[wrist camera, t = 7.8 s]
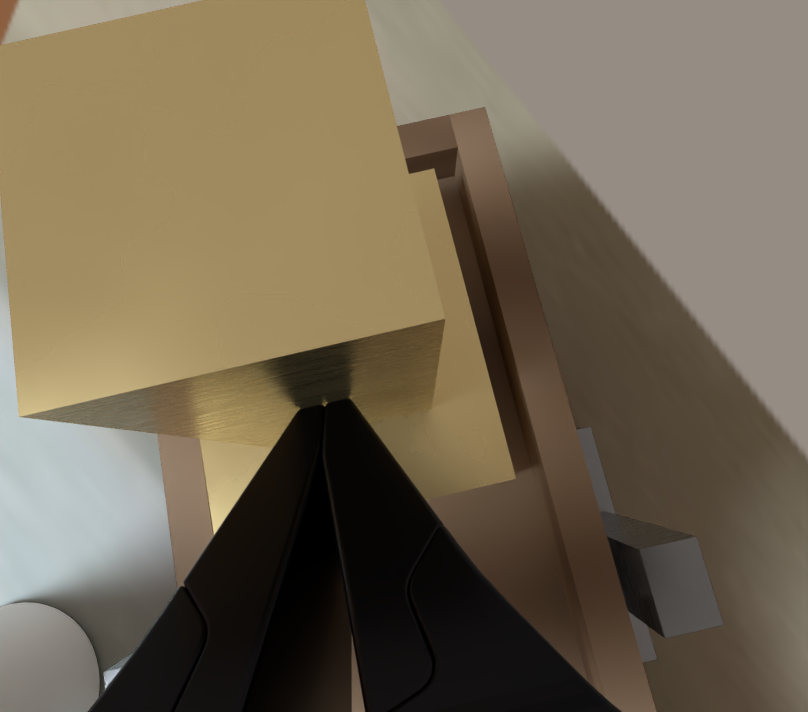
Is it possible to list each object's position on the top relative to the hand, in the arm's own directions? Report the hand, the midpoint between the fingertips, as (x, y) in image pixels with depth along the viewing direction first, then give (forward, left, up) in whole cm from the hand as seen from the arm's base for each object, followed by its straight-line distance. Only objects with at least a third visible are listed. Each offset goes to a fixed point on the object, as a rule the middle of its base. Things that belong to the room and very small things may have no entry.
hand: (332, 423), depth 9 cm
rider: (+2, -1, -6) cm, 7 cm away
